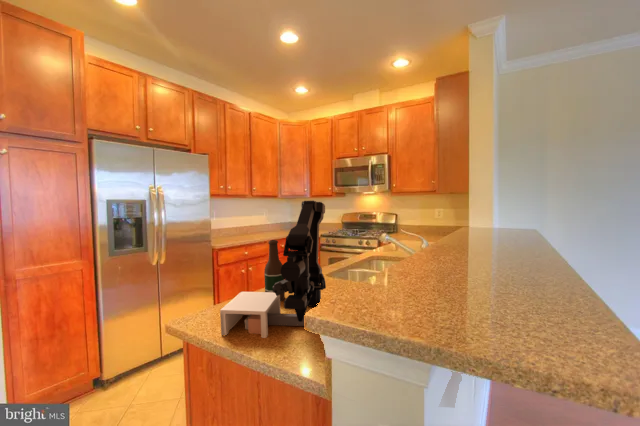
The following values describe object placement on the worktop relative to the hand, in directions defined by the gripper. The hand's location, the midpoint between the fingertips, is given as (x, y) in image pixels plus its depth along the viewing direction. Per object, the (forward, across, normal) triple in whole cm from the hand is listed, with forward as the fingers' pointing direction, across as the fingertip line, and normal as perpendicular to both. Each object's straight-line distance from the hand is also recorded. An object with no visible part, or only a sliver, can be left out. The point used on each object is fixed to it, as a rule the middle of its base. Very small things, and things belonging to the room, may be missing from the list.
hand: (301, 319), depth 91 cm
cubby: (+2, +1, -16) cm, 16 cm away
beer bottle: (+2, -21, -15) cm, 26 cm away
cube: (+2, +4, -13) cm, 14 cm away
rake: (+2, +2, -8) cm, 8 cm away
